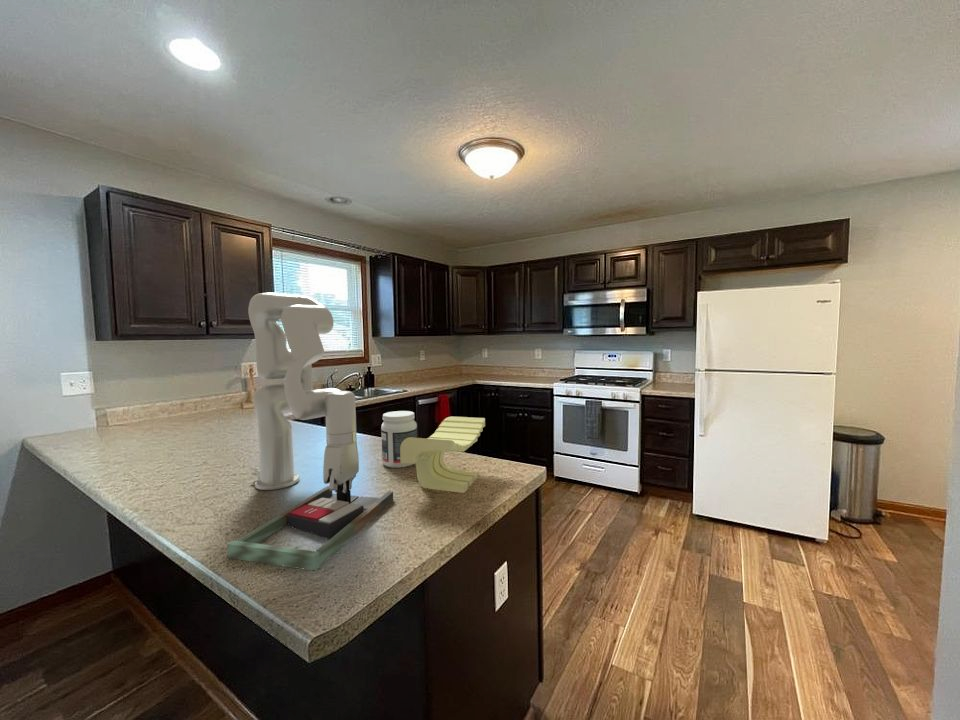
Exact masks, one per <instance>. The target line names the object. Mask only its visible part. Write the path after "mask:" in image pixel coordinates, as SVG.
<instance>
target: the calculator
mask: <svg viewBox="0 0 960 720" xmlns="http://www.w3.org/2000/svg"><path fill="white" fill-rule="evenodd" d="M352 503H353V502H351V503H350V504H349V502H345V501H339V500H335V501H334V499H328V498H320V499H318V500H316V501H313V502H311V503H309V504H308V506H307V505H305V506H302V507H300V508H298V509H296V510H294V511H292V512H290V514H288V515H287V523H288V524H287V527H288V526H290V527H289V528H292V527H293V529H295V528H296V529H295V530H299V531H303V532H307V533H311V534H316V535H317V536H318V537H321V538H323V537H324V539H326V538H327V540H330V539H331V538H332V537H333V536H335V535H336V534H337V533H338V532H339V531H341V530H342V529H343V528H344V527H346V526H347V525H348V524H349V523H350V522H352V521H353V520H354V519H355V518H356V517H358V516H359V515H360V514H361V513H363V512H364V511H365V510H364V507H363V506H361V505H358V504H352Z"/></svg>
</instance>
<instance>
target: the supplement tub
mask: <svg viewBox="0 0 960 720" xmlns="http://www.w3.org/2000/svg"><path fill="white" fill-rule="evenodd" d="M415 418H416V417H415V412H413V411H411V410H397V411H387V412H385V413H383V414H382V420H383V422H382V424H381V427H380V429H381V430H380V432H381V459H382V464H383V465H384V466H385V467H388V468H391V469H392V468H393V469H400V468H401V467H402V468H406V467H407V466H408V467H411V466H413V465H414V464H409V463H400V446H401V443H402V442H403V441H404V440H405V439H406V438H409V437H413V438H418V423H417V422H416V421H415ZM402 468H401V469H402Z"/></svg>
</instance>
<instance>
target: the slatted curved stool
mask: <svg viewBox="0 0 960 720" xmlns="http://www.w3.org/2000/svg"><path fill="white" fill-rule="evenodd" d="M485 427H486V418H485V417H471V416H470V417H468V416H448V417H445V418H444V419H443V420H442V421H441V422H440V424H439V425H438V427H437V428H436V430H435V431H434V433H432V434H431V435H430V436H429V437H427V438H425V437H423V438H422V437H417V438H413V437H409V438H406V439H405V440H404V441H403V442H402V443H401V446H400V463H409V464H413V465H415V469H416V477H417V478H416V479H417V480H418V483H419V485H420V486H421V487H422V488H423V489H427V488H428V489H429V490H436V491H445V492H454V493H460V494H461V493H463V494H464V493H466V491H467V490H468V489H469V488H470V487H471V486H472V485H473V484H474V482H476V481H477V479H478V478H479V476H478V472H474V471H473V472H472V471H466V470H461V469H460V470H459V469H456V468H452V467H450V466H448V465H447V464H446V463H445V461H444V454H445V452H449V453H450V452H454V453H458V452H459V453H465V451H467V450H468V449H469V448H470V447H472V446H473V444H475V443H476V442H478V438H479V437H480V436H481V433H482V432H483V428H485ZM472 483H473V484H472ZM471 484H472V485H471ZM428 489H427V490H428Z"/></svg>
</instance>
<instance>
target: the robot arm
mask: <svg viewBox="0 0 960 720" xmlns="http://www.w3.org/2000/svg"><path fill="white" fill-rule="evenodd" d="M247 313H248V317H249V318H248V319H249V321H250V322H249V323H250V325H251V328H252V330H253V333H254V334H253V335H254V339H255V340H254V343H255V362H256V370H257V374H258V376H259V378H260V379H262V380H267V381H275V380H276V381H277V380H284V381H283V382H281V383H272V384H270V383H269V384H266V385H263V386H260V387H258V388H257V389H256V390H255V391H254V393H253V394H252V395H253V396H252V404H253V407H254V411H255V416H256V423H257V435H258V436H257V437H258V454H259V455H258V456H259V459H258V460H259V467H256V468H255V469H254V470H253V471H252V472H251V476H253V477H257V480H256V481H255V482H254V488H255V489H257V490H260V491H262V490H263V491H274V490H280V489H284V488H288V487H291V486H293V485H295V484H296V483H298V482H299V481H300V475H299V474H298V473H296V472H295V467H294V445H293V440H294V439H293V427H292V424H291V422H290V421H289V420H288V418H286V417H285V415H284V414H287V413H291V414H292V415H293V416H294V418H296V420H297V419H298V420H300V421H301V420H302V421H305V420H312V419H317V418H322V417H325V438H326V446H325V449H324V454H323V455H324V456H323V466H322V467H323V472H322V473H323V474H322V475H323V478H322V480H323V484H325V485H328V484H329V485H328V486H329V490H331V491H332V492H335V494H337V500H339V501H345V502H349V504H350V503H352V502H351V495H352V494H351V490H352V486H353V485H352V484H353V483H352V482H353V480H354V479H355V478H356V477H357V474H358V473H359V469H360V464H359V463H360V459H359V451H358V444H357V438H358V437H357V413H356V412H357V411H356V395H355V394H354V392H352V391H350V390H341V389H339V388H336V387H328V388H319V389H314V387H313V368H312V367H313V366H312V364H314V363H316V362H318V361H319V360H321V359H322V358H323V357H324V355H325V348H324V346H323V343H322V339H321V337H320V334H321V335H324V334H328V333H330V332H331V331H332V330H333V327H334V324H335V323H334V318H333V315H332V313H331V311H330V310H329V308H328V307H326V306H325V305H323V304H322V303H320V302H318V301H317V300H315V299H314V298H311V297H309V296H306V295H300V294H291V293H290V294H289V293H288V294H287V293H282V292H280V293H279V292H262V293H261V292H260V293H257V294H255V295H253V296H252V297H251V299H250V300H249V303H248V312H247ZM278 322H281V325H282V326H283V327H281V326H280V325H279V323H278ZM287 344H288V347H287Z"/></svg>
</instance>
